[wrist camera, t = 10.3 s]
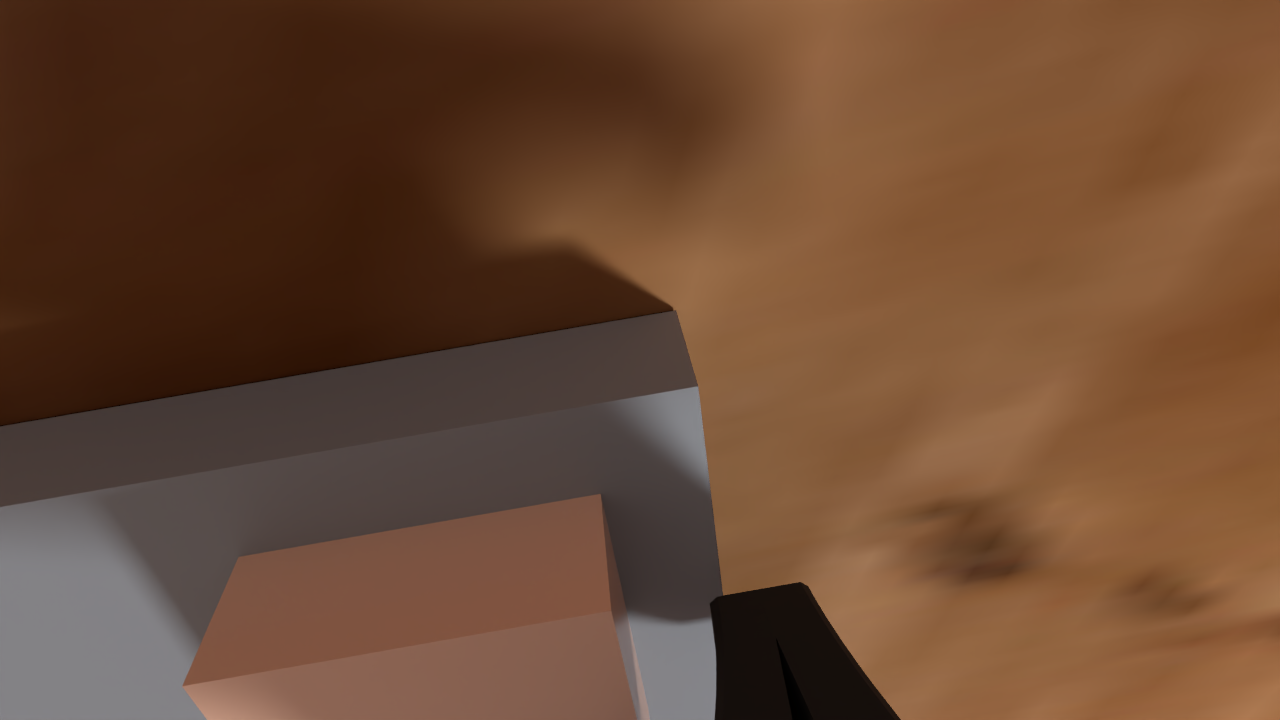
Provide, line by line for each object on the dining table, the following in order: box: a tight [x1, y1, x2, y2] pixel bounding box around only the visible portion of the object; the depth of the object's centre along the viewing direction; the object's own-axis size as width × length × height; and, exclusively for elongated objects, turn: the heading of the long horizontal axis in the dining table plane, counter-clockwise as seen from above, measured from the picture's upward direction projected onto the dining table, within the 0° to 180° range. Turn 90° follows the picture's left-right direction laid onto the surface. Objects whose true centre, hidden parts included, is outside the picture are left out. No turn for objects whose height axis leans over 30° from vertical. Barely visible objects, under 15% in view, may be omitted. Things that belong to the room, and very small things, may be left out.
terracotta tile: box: [182, 494, 650, 720], centre depth 11 cm, size 5×5×2 cm
